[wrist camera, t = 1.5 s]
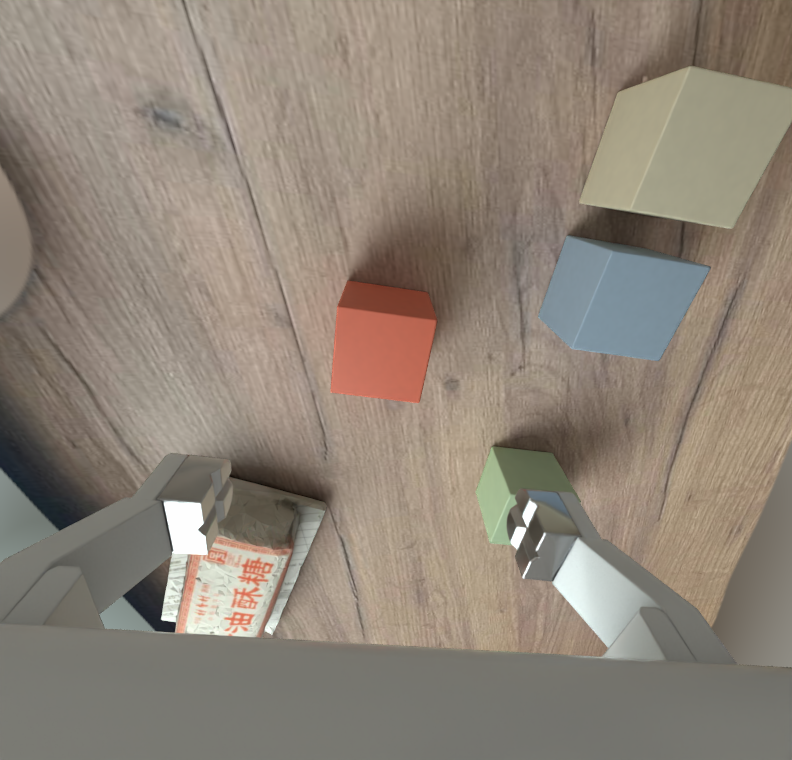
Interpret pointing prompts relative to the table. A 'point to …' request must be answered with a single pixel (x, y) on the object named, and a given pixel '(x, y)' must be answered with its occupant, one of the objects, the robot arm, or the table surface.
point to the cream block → (688, 146)
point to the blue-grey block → (619, 297)
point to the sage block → (514, 484)
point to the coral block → (382, 342)
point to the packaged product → (244, 565)
